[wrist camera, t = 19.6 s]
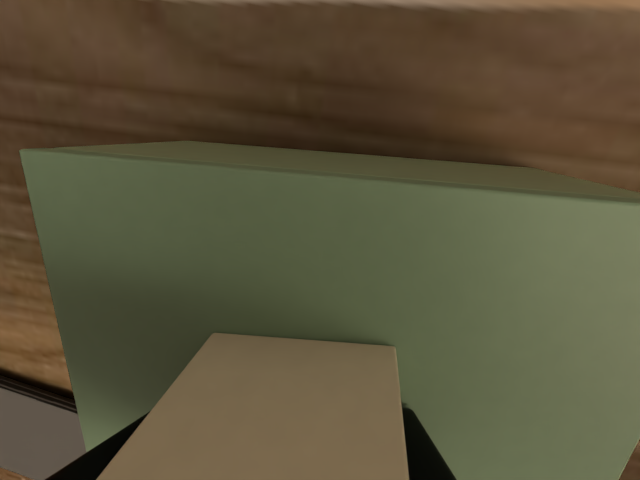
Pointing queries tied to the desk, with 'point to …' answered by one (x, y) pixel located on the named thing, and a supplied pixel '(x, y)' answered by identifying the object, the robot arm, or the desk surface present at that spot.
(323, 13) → the desk surface
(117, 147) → the case
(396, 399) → the block
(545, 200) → the cover
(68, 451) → the smartphone
